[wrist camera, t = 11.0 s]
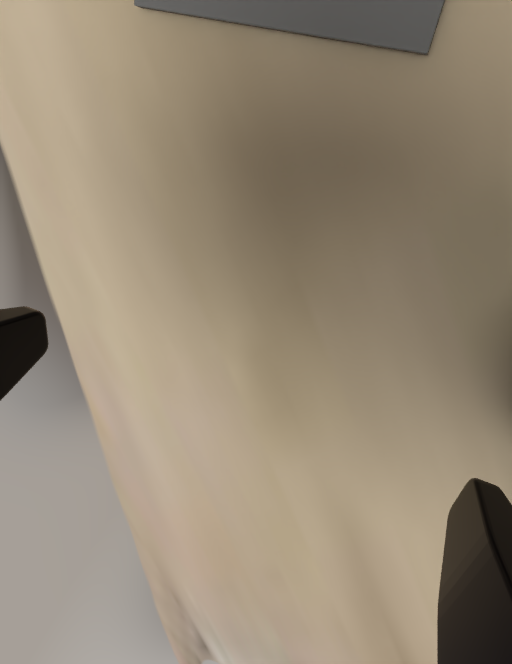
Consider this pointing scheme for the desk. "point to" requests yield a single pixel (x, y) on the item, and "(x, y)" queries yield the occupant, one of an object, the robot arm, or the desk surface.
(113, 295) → the desk surface
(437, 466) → the desk surface
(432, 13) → the mat
